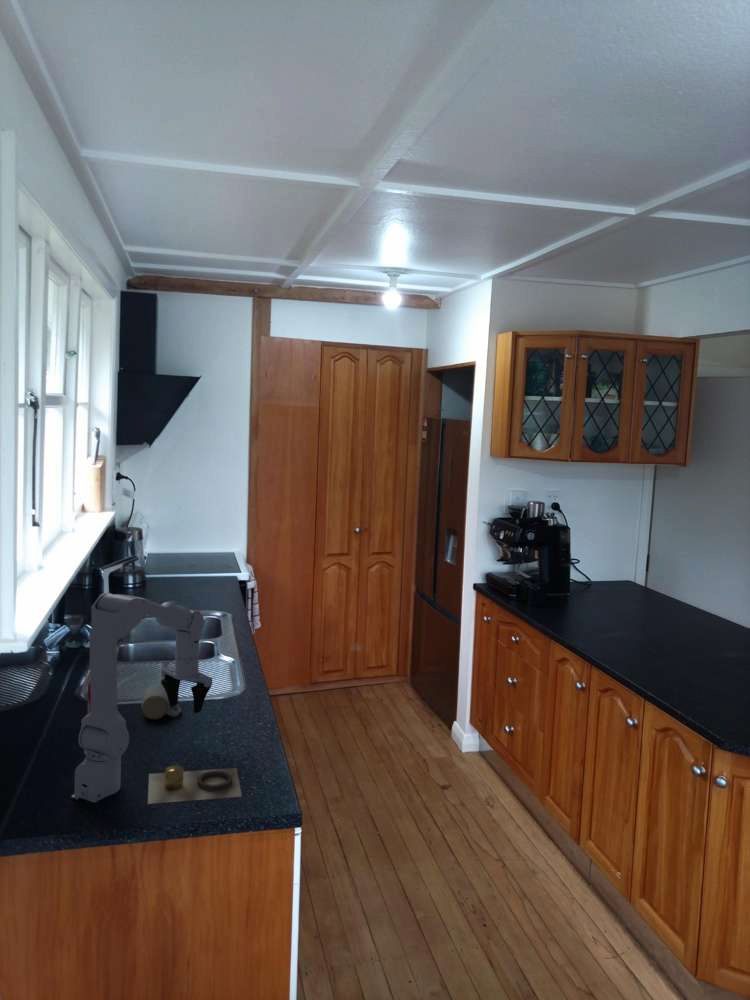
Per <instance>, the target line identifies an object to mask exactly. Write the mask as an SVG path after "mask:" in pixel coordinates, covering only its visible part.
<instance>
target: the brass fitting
mask: <svg viewBox="0 0 750 1000" xmlns="http://www.w3.org/2000/svg"><path fill="white" fill-rule="evenodd" d="M183 772H184V767H183V766H181V765H176V764H175V765H169V766H168V767H165V770H164V773H165V789H167V790H170V791H176V790H179V789H181V788H182V787H183Z"/></svg>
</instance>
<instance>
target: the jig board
mask: <svg viewBox="0 0 750 1000" xmlns="http://www.w3.org/2000/svg"><path fill="white" fill-rule="evenodd" d="M242 796H243V795H242V790H241V785H240V779H239V774H238V768H237V767H230V768H219V769H218V768H215V769H203V770H202V769H201V770H190V771H189V770H188V771H187V770H184V771H183V787H182V788H181V789H179V790H176V791H170V790H167V789H165V772H160V773H159V772H158V773H148V791H147V805H153V804H166V803H177V802H178V803H179V802H180V803H181V802H190V801H191V802H193V801H203V800H204V801H205V800H216V799H217V800H218V799H229V798H230V799H231V798H242Z"/></svg>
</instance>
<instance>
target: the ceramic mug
mask: <svg viewBox="0 0 750 1000" xmlns="http://www.w3.org/2000/svg"><path fill="white" fill-rule="evenodd" d="M141 695H142V696H141V712H142V714H143V715H144V716H145V717H146V718H147V719H150V720H159V719H162V718H163V717H165V715H168V716H171V717H178V716H179V715H180V713H181V711H182V709H181V707H180V705H178V704H177V705H175V706H173V707H171V706H170V704H169V700H168V696H167V693H166V691H165V688H164V687H163V685H162V684H151V685H149V686H147V687H146V688H145V689H144V691H143V692H142V694H141ZM169 708H171V709H169Z"/></svg>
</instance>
